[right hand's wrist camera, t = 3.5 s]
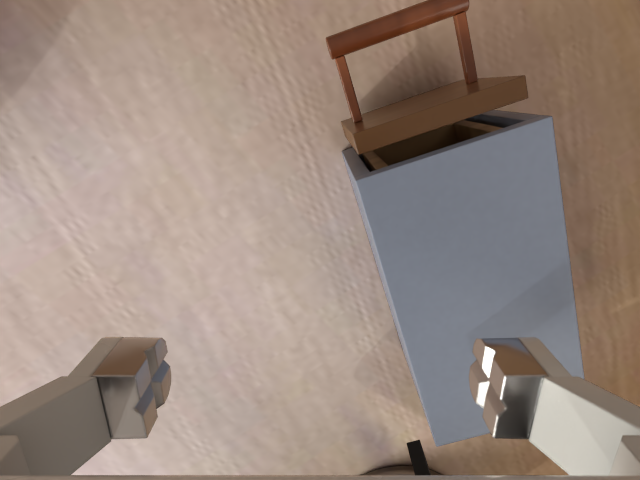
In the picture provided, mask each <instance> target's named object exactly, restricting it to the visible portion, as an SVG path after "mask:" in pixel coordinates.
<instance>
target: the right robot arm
mask: <svg viewBox="0 0 640 480" xmlns="http://www.w3.org/2000/svg"><path fill="white" fill-rule="evenodd" d="M167 352H168V351H167V346H166V341H165V340H164V339H163V338H143V337H125V338H124V337H105V338H102V339H101V340H100V341H99V342H98V343H97V344H96V345H95V346H94V347H93V349H92V350H91V351H90V352H89V353H88V354H87V355H86V356H85V358H84V359H83V360H82V361H81V362H80V363H79V364H78V365H77V367H76V368H75V369H74V370H73V371H72V372H71V373H70V374H69V376H68V377H60V378H58V379H56V380H54V381H52V382H50V383H48V384H46V385H44V386H41V387H39V388H37V389H35V390H33V391H31V392H29V393H27V394H25V395H23V396H21V397H19V398H17V399H15V400H13V401H11V402H9V403H7V404H5V405H3V406H1V407H0V480H640V407H639V406H637V405H635V404H633V403H631V402H629V401H627V400H625V399H623V398H621V397H619V396H617V395H615V394H613V393H610V392H608V391H606V390H604V389H602V388H600V387H598V386H596V385H594V384H592V383H590V382H588V381H586V380H584V379H582V378H580V377H572V376H571V374H570V373H569V372H568V371H567V370H566V369H565V368H564V367H563V365H562V364H561V363H560V362H559V361H558V360H557V359H556V358H555V356H554V355H553V354H552V353H551V352H550V351H549V350H548V349H547V347H546V346H545V345H544V344H543V343H542V342H541V341H540V340H539V339H538V338H536V337H515V338H476V340H475V342H474V345H473V351H472V352H473V354H474V356H475V357H476V359H477V360H476V361H475V362H474V363H473V364H472V365H471V366H470V371H469V385H470V390H471V394H472V397H473V399H474V401H475V403H476V404H477V405H479V406H480V407H482V408H483V409H484V410H483V416H482V417H483V419H484V421H485V423H486V425H487V427H488V429H489V431H490V433H491V435H492V437H493V438H506V439H529V441H530V442H531V443H532V444H533V445H534V446H536V447H537V448H538V449H539V450H540V451H542V452H543V453H544V454H545V455H546V456H547V457H549V458H550V459H551V460H552V461H553V462H555V463H556V464H557V465H558V466H559V467H561V468H562V469H563V470H564V471H565V472H567V473H568V474H569V475H71V474H72V473H74V472H75V471H76V470H77V469H78V468H80V467H81V466H82V465H83V464H84V463H86V462H87V461H88V460H89V459H90V458H91V457H93V456H94V455H95V454H96V453H97V452H99V451H100V450H101V449H102V448H103V447H105V446H106V445H107V444H108V443H109V442H111V439H133V438H147V437H148V435H149V433H150V431H151V429H152V427H153V425H154V423H155V421H156V419H157V417H158V416H157V410H156V409H157V408H158V407H160V406H161V405H163V404H164V403H165V401H166V399H167V397H168V394H169V390H170V385H171V371H170V366H169V365H168V364H167V363H166V362H165V361H164V360H163V359H164V357H165V356H166V354H167Z"/></svg>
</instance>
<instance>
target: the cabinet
mask: <svg viewBox="0 0 640 480" xmlns="http://www.w3.org/2000/svg"><path fill="white" fill-rule="evenodd" d="M464 120H466V121H471V122H476V123H481V124H486V125H491V126H496V127H501V128H502V129H499V130H496V131H493V132H490V133H487V134H484V135H481V136H478V137H475V138H472V139H469V140H466V141H462V142H459V143H456V144H453V145H450V146H447V147H444V148H441V149H438V150H435V151H432V152H429V153H426V154H423V155H420V156H417V157H414V158H411V159H408V160H405V161H402V162H399V163H396V164H393V165H390V166H387V167H384V168H381V169H378V170H375V171H372V172H369V170H368V169H367V167H366V164H365V161H364V157H363V154H360V155H358V154H357V152H356V151H355V149H354V148H353V147H352V148H349V149H346V150H343V151H342V154H343V158H344V161H345V164H346V167H347V171H348V174H349V177H350V180H351V184H352V187H353V190H354V193H355V197H356V200H357V203H358V206H359V209H360V213H361V216H362V219H363V222H364V226H365V229H366V232H367V235H368V239H369V242H370V245H371V248H372V252H373V255H374V258H375V261H376V264H377V268H378V271H379V274H380V277H381V281H382V284H383V287H384V290H385V294H386V297H387V300H388V303H389V307H390V310H391V313H392V316H393V320H394V323H395V326H396V329H397V332H398V336H399V339H400V342H401V345H402V349H403V352H404V355H405V357H406V360H407V363H408V366H409V369H410V372H411V375H412V378H413V381H414V383H415V386H416V389H417V392H418V395H419V398H420V401H421V404H422V407H423V409H424V412H425V415H426V418H427V421H428V424H429V427H430V430H431V433H432V435H433V438H434V441H435V444H436V446H441V445H445V444H449V443H453V442H457V441H461V440H465V439H469V438H472V437H476V436H480V435H484V434H488V433H490V431H489V429H488V427H487V425H486V423H485V421H484V419H483V417H482V416H483V410H484V409H483V408H482V407H480V406H479V405H477V404H476V403H475V401H474V399H473V397H472V394H471V390H470V385H469V371H470V366H471V365H472V364H473V363H474V362H475V361H476V360H477V359H476V357H475V356H474V354H473V352H472V351H473V345H474V342H475V340H476V338H515V337H536V338H538V339H539V340H540V341H541V342H542V343H543V344H544V345H545V346H546V347H547V349H548V350H549V351H550V352H551V353H552V354H553V355H554V356H555V358H556V359H557V360H558V361H559V362H560V363H561V364H562V365H563V367H564V368H565V369H566V370H567V371H568V372H569V373H570V374H571V376H572V377H580V378H582V379H584V371H583V363H582V355H581V347H580V339H579V331H578V323H577V314H576V306H575V298H574V290H573V282H572V274H571V265H570V257H569V249H568V241H567V233H566V225H565V217H564V208H563V200H562V192H561V184H560V176H559V168H558V159H557V151H556V143H555V135H554V127H553V119H552V116H545V115H535V114H525V113H516V112H507V111H498V110H491V111H488V112H485V113H482V114H479V115H476V116H473V117H470V118H467V119H464Z"/></svg>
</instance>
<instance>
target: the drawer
mask: <svg viewBox="0 0 640 480" xmlns="http://www.w3.org/2000/svg"><path fill="white" fill-rule="evenodd" d="M468 8H469V0H427V1H424V2H421V3H419V4H416V5H413V6H411V7H408V8H405V9H402V10H400V11H397V12H394V13H391V14H389V15H386V16H383V17H381V18H378V19H375V20H372V21H370V22H367V23H364V24H361V25H359V26H356V27H353V28H351V29H348V30H345V31H342V32H340V33H337V34H334V35H331V36H329V37H326V43H327V47H328V50H329V53H330V56H331V59H335V61H336V65H337V68H338V72H339V75H340V79H341V82H342V86H343V89H344V92H345V96H346V99H347V103H348V106H349V110H350V113H351V116H352V118H350V119H347V120H344V121H341V124H342V127H343V130H344V134H345V136H346V138H347V139H348V141H349V142H350V144H351V145H352V146H353V148H354V149H355V151H356V152H357V154H358V155H360V154H363V157H364V161H365V164H366V167H367V169H368V170H369V172H372V171H375V170H378V169H381V168H384V167H387V166H390V165H393V164H396V163H399V162H402V161H405V160H408V159H411V158H414V157H417V156H420V155H423V154H426V153H429V152H432V151H435V150H438V149H441V148H444V147H447V146H450V145H453V144H456V143H459V142H462V141H466V140H469V139H472V138H475V137H478V136H481V135H484V134H487V133H490V132H493V131H496V130H499V129H502V128H501V127H496V126H491V125H486V124H481V123H476V122H471V121H466V120H464V119H467V118H470V117H473V116H476V115H479V114H482V113H485V112H488V111H491V110H494V109H497V108H500V107H503V106H506V105H509V104H512V103H515V102H518V101H521V100H524V99H527V98H528V92H527V85H526V78H525V75H523V76H508V77H494V78H480V79H477V73H476V68H475V62H474V57H473V51H472V45H471V40H470V34H469V29H468V23H467V18H466V11H467V10H468ZM452 16H453V19H454V24H455V29H456V34H457V40H458V45H459V50H460V55H461V61H462V66H463V71H464V76H465V80H460V81H457V82H454V83H451V84H449V85H446V86H443V87H440V88H437V89H434V90H431V91H428V92H425V93H422V94H420V95H417V96H414V97H411V98H408V99H405V100H402V101H399V102H396V103H393V104H391V105H388V106H385V107H382V108H379V109H376V110H373V111H370V112H367V113H364V114H362V115H361V113H360V109H359V105H358V102H357V98H356V95H355V91H354V88H353V84H352V81H351V77H350V74H349V70H348V67H347V63H346V60H345V56H344V55H347V54H349V53H352V52H355V51H358V50H360V49H363V48H366V47H369V46H372V45H374V44H377V43H380V42H383V41H385V40H388V39H391V38H394V37H396V36H399V35H402V34H405V33H408V32H410V31H413V30H416V29H419V28H421V27H424V26H427V25H430V24H433V23H435V22H438V21H441V20H444V19H446V18H449V17H452Z"/></svg>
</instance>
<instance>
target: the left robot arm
mask: <svg viewBox="0 0 640 480" xmlns="http://www.w3.org/2000/svg"><path fill="white" fill-rule="evenodd" d="M407 446H408V450H409V454H410V458H411V462H412V466H392V467H386V468H381V469H377V470H374V471H371V472H369V473H367V474H364V475H441V474H439V473H437V472H434V471H432V470H429V468H428V464H427V461H426V458H425V455H424V452H423V449H422V446H421V443H420V440H417V441H413V442H409V443H407Z"/></svg>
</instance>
